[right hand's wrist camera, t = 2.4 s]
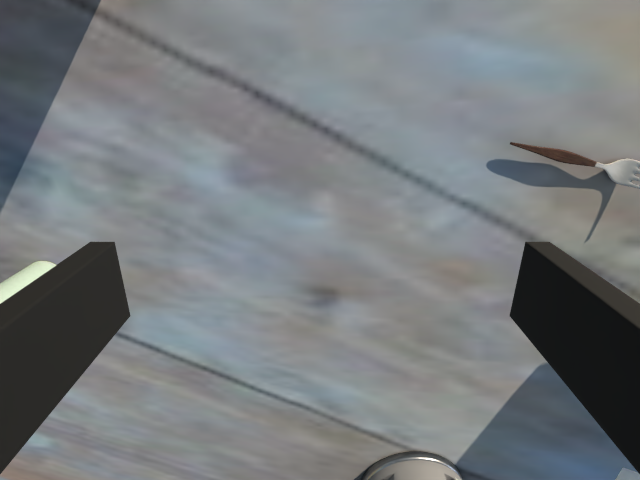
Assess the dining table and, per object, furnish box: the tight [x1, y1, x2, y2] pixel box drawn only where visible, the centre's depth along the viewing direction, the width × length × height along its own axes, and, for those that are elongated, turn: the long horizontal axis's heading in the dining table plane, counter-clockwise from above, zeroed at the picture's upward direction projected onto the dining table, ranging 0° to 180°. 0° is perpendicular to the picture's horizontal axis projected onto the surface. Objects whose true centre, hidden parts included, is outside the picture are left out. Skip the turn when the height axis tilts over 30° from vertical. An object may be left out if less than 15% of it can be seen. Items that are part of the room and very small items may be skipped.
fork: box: [510, 142, 640, 189], centre depth 38 cm, size 3×16×2 cm, turn 77°
